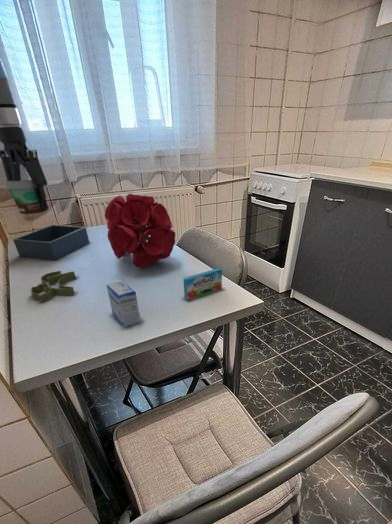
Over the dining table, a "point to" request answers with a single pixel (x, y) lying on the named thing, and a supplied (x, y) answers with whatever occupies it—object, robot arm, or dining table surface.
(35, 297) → the cookie cutter
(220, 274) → the light blue food packet
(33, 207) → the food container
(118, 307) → the medicine box
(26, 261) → the dining table surface
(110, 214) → the bouquet
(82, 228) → the tote
